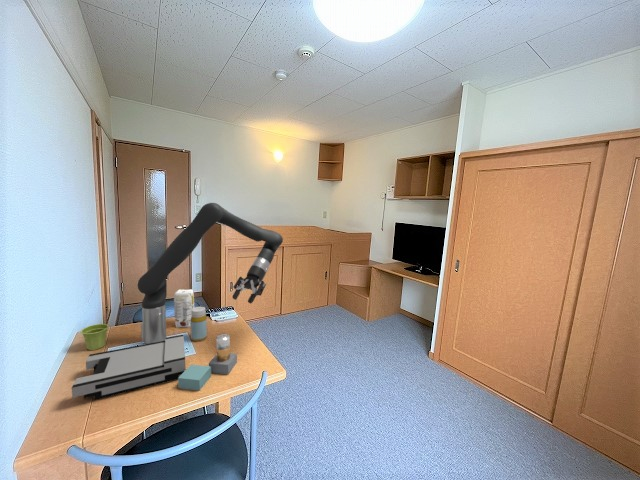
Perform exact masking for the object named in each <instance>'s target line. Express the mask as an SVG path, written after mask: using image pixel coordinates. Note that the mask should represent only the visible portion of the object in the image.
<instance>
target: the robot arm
mask: <svg viewBox="0 0 640 480" xmlns="http://www.w3.org/2000/svg"><path fill="white" fill-rule="evenodd" d="M217 223H218V224H221V225H223V226H224V225H225V226H226V227H228V228H231V229H233V230H234V231H236V232H238V233H239V234H240V235H242V236H244V237H246V238H249V240H252V241H255V242H261V241H262V242H264V244H263V246H262V248H261V250H260V251H259V252H258V254H257V257H256V258H255V259H254V260H253V262H252V264H251V266H250V267H249V269H248V270H247V273H246V277H242V276H239V277H238V279H237V280H236V282H235V284H234V285H233V289H235V291H234V292H233V294H232V299H233V300H235V301H237V300H238V297H239V296H240V293H241V292H242V291H245V290H251V291H252V292H251V294H250V295H249V298H248V300H247V302H248V303H249V304H253V302H254V301H255V299H256V298H257V296H262V295H263V292H264V290H265V287H266V285H267V284H266V282H265V281H264V278H265V276H266V274H267V273H268V271H269V268H270V265H271V263H272V262H273V260H274V257H275V254H276V253H277V252H276V251H277V250H278V248H279V247H280V246H281V245H282V244H283V242H284V238H283V236H282V235H281V234H280V233H279V232H277V231H274V230H271V229H267V228H262V227H261V226H259V225H256V224H254V223H252V222H251V221H248V220H246V219H244V218H241V217H239V216H237V215H235V214H233V213H231V212H230V211H228V210H227V209H225V208H224V207H223V206H221V205H220V204H219V203H217V202H208V203H206V204H204V205H203V206H201V208H200V209H199V211H198V213H197V214H196V216H195V217H194V218H193V220H192V221H191V222H190V224H189V225H188V226H186V227H185V228H184V229H183V230H182V231H181V232H180V233H179V234H178V235H177V236H176V237H175V238H174V240H172V242H171V243H170V244H169V245H168V247H166V248H165V251H164V252H162V254H161V256H159V258H158V260H157V261H156V262H155V263H154V264H153V266H151V268H149V269H148V270H147V271H146V272H145V273H144V274H143V275H141V277H140V278H139V279H138V281H137V290H138V291H139V292H140V293H141V294H144V296H143V299H142V302H141V311H142V313H141V314H142V315H141V316H142V321H141V323H140V331H141V332H140V333H141V342H142V343H143V344H149V343H155V342H160V341H165V338H167V337H168V335H167V316H166V315H167V313H166V311H167V310H166V299H167V290H168V289H167V287H168V286H167V284H168V283H167V278H168V276H169V275H170V274H171V273H172V272H173V271H174V270H175V269H176V268H177V267H179V266H180V265H181V264H182V263H183V262H184V261H185V260H186V259H187V258H188V257H189V256H190V255H191V254H192V253H193V251H194V250H195V249H196V248H197V246H198V245H199V243H200V242H201V240H202V238H203V237H204V235H205V234H206V233H208V231H209V230H210V229H211V228H212V227H213V226H214V225H216V224H217Z"/></svg>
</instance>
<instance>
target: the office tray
mask: <svg viewBox="0 0 640 480" xmlns="http://www.w3.org/2000/svg"><path fill="white" fill-rule="evenodd" d="M184 339H185V338H184V334H179V335H173V336H167V338H165V341H160V342H155V343H149V344H145V343H143V344H140V345H133V346H127V347H123V348H118V349H113V350H107V351H103V352H102V351H101V352H95V353H89V355H88V357H87V359H85V368H86V371H89V370H93V374H90V375H86V376H81V377H77V378H76V379H75V380H74V383H73V385H72V387H71V395H72V398H77V397H80V396H83V399H84V400H85V399H88V398H93V401H97V400H101V399H105V398H109V397H113V396H118V395H121V394H126V393H129V392H132V391H133V392H134V391H137V390H140V389H145V388H149V387H152V386H156V385H162V384H165V383H169V382H173V381H176V380H177V381H178V377H179V376H180V375H181V374H182V373H183V372H184V371H185V370H186V350H185V340H184Z"/></svg>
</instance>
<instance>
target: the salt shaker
mask: <svg viewBox="0 0 640 480" xmlns="http://www.w3.org/2000/svg"><path fill="white" fill-rule="evenodd" d="M230 337H231V336H230V335H229V334H227V333H223V334H219V335H217V336H216V340H215V342H216V354H217V361H219V362H224V361H227V360H228V359H229V358H230V353H231V352H230V351H231V348H230V347H231V343H230V339H231V338H230Z"/></svg>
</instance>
